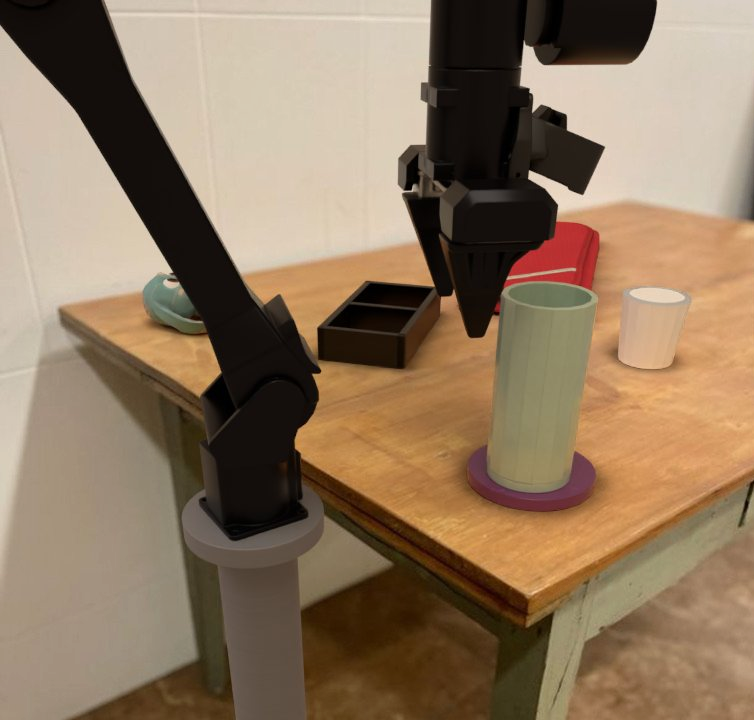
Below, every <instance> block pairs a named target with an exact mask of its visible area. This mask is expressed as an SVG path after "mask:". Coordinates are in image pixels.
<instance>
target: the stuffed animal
mask: <svg viewBox="0 0 754 720" xmlns="http://www.w3.org/2000/svg"><path fill="white" fill-rule="evenodd" d="M141 294H142V296H141V299H142V305H143V308H144V311H145V313H146V314H147V316H148V317H150V319H151V320H152V321H153V322H154V323H158V324H160V325H164V326H170V327H173V328H175V329H176V330H178V331H180V332H181V333H183V334H188V335H198V334H199V335H200V334H207V331H206V328H205V326H204V323H203V321H202V320H194V319H192V318H193V317H195V318H200V316H199V315H198V313H197V311H196V310H195V308H194V306H193V305H192V303H191V301H190V300H189V298H188V296H187V295H186V293H185V291H184V290H183V288H182V286H181V285H180V283H179V281H178V280H177V278H176V277H175V275H174V273H173V272H169V273H167V274H166V273H164V272H162V271H161V272H157V274H156V275H155V276H153V278H151V279H150V280H149V281H148V282H147V283H145V285H144V287H143V289H142V293H141Z"/></svg>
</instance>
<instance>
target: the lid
mask: <svg viewBox="0 0 754 720" xmlns="http://www.w3.org/2000/svg"><path fill="white" fill-rule="evenodd" d="M487 448H488V444H485V445H483V446H481V447H479V448H477V449H476V450H474V452H473V453H471V455H470V456H469V458H468V461H467V470H466V477H467V482H468V483H469V485H470V486H471V488H472V489H473V490H474V491H475V492H476V493H477V494H478V495H480V496H482V497H483V498H485V499H487V500H489V501H491V502H493V503H495V504H498V505H500V506H503V507H507V508H512V509H515V510H521V511H528V512H529V511H530V512H553V511H560V510H566V509H570V508H573V507H575V506H577V505H580V504H581V503H584V502H585V501H587V499H589V498H590V496H591V495H592V494H593V492H594V490H595V484H596V478H597V473H596V469H595V467H594V465H593V464H592V462H591V461H590V460H589V459H588V458H586V457H585V455H583V454H581V453H579V452H578V451H576V450H575V453H574V459H573V466H572V470H571V477H570V480H569V482H568V483H567V484H566V485H565V486H564V487H562V488H560V489H558V490H555V491H551V492H545V493H525V492H519V491H514V490H511V489H508V488H505V487H503V486H500V485H499V484H497V483H495V482H494V481H493V480H492V479H491V478H490V477H489V476H488V474H487V471H486V467H487V461H486V459H487Z"/></svg>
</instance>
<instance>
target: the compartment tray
mask: <svg viewBox="0 0 754 720" xmlns="http://www.w3.org/2000/svg"><path fill="white" fill-rule="evenodd" d="M441 302H442V297H440V296H438V294H437V292H436V289H435V286H434V285H433V286H432V285H420V284H411V283H399V282H387V281H375V280H365V281H364V282H363V283H362V284H361V285H360V286H359V287H358V288H357V289H356V290H355V291H354V292H353V293H351V294H350V295H349V296H348V297H347V298H346V299H345V300H344V301H343V302H342V303H341V304H340V305H339V306H338V307H337V308H336V309H334V311H333V312H332V313H331V314H329V316H328V317H326V319H324V320H323V322H321V323H320V324H319V325H318V326H317V327H316V334H317V335H316V336H317V337H316V338H317V360H318V361H319V360H320V361H329V362H338V363H347V364H356V365H363V366H365V365H366V366H374V367H382V368H383V367H384V368H391V369H393V368H394V369H399V370H401V369H402V370H404V369H406V367H407V365H408V364H409V362H410V361H411V359H412V357H413V356H414V355H415V353H416V352H417V351H418V349H419V347H420V346H421V345H422V344H423V341H424V340H425V338H426V337H427V336H428V334H429V333H430V331H431V330H432V329H433V327H434V325H435V324H436V322H437V321H438V319H439V318H440V316H441V305H442V304H441Z"/></svg>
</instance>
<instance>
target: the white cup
mask: <svg viewBox="0 0 754 720" xmlns="http://www.w3.org/2000/svg"><path fill="white" fill-rule="evenodd" d="M692 301H693V299H692V297H691V295H690V294H688V293H687V292H684V291H681V290H678V289H676V288H671V287H663V286H656V285H655V286H654V285H640V286H632V287H627V288H626V289H624V290H622V297H621V309H620V310H621V311H620V321H619V336H618V339H619V340H618V349H617V359H618V361H620V362H621V363H622V364H624V365H627V366H629V367H632V368H636V369H641V370H642V369H643V370H663V369H665V368H669V367H670V366H671V365H672V364H673V362H674V358H675V356H676V352H677V349H678V345H679V342H680V339H681V336H682V333H683V330H684V326H685V324H686V320H687V317H688V314H689V311H690V308H691V305H692Z"/></svg>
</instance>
